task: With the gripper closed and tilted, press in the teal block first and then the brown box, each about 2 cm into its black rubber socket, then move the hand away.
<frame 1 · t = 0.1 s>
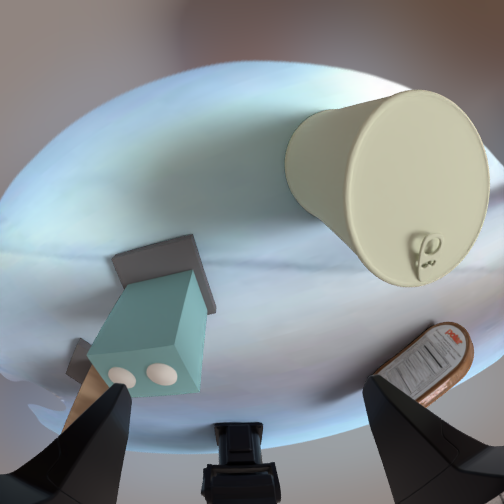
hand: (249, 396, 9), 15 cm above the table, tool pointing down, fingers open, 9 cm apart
socket one: (105, 374, 27), on the table
brown box: (91, 409, 22), point 6 cm above the table, slide at 0.0 cm
socket two: (169, 291, 23), on the table
can: (339, 165, 21), on the table
tin: (404, 350, 30), on the table
teal block: (155, 331, 18), point 6 cm above the table, slide at 0.0 cm
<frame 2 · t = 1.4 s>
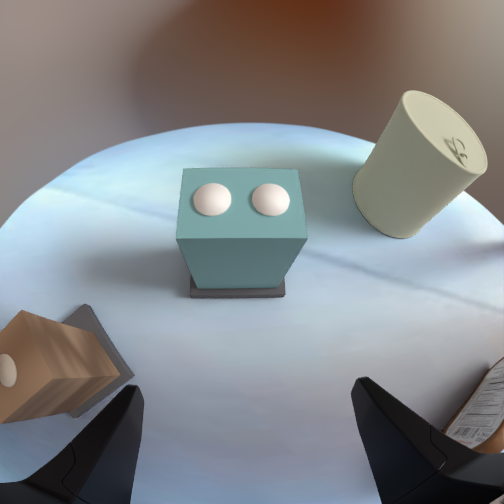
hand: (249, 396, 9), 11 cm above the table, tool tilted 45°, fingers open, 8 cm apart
socket one: (88, 372, 18), on the table
brown box: (49, 372, 13), point 6 cm above the table, slide at 0.0 cm
socket two: (237, 267, 22), on the table
can: (389, 200, 27), on the table
tin: (467, 404, 19), on the table
teal block: (238, 238, 17), point 6 cm above the table, slide at 0.0 cm
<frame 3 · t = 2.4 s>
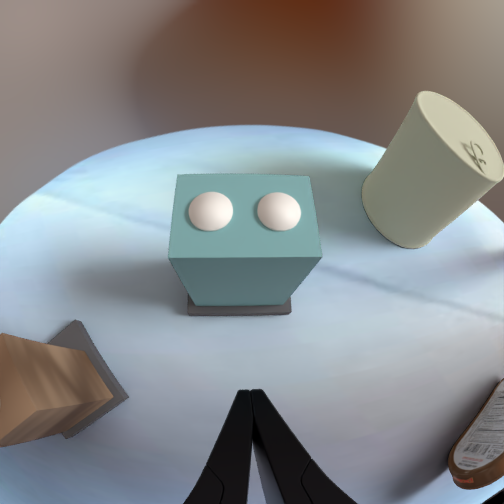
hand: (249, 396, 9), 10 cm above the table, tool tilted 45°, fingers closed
socket one: (80, 392, 16), on the table
brown box: (37, 395, 11), point 6 cm above the table, slide at 0.0 cm
socket two: (238, 282, 21), on the table
can: (399, 208, 25), on the table
tin: (477, 419, 16), on the table
teal block: (241, 253, 15), point 6 cm above the table, slide at 0.0 cm
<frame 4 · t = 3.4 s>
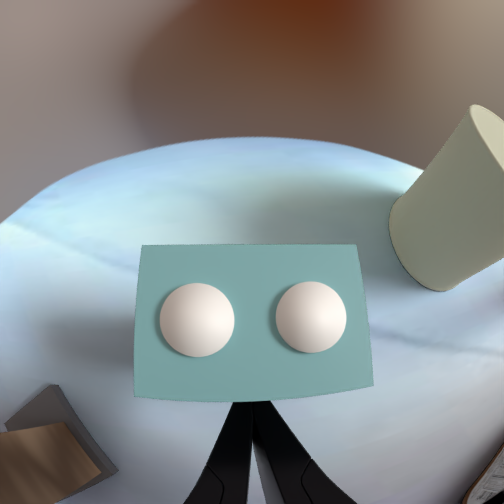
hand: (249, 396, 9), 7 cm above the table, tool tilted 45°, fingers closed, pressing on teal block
socket one: (65, 458, 11), on the table
brown box: (18, 477, 6), point 6 cm above the table, slide at 0.0 cm
can: (429, 240, 20), on the table
tin: (492, 462, 12), on the table
teal block: (246, 337, 11), point 6 cm above the table, slide at 0.1 cm, touching gripper
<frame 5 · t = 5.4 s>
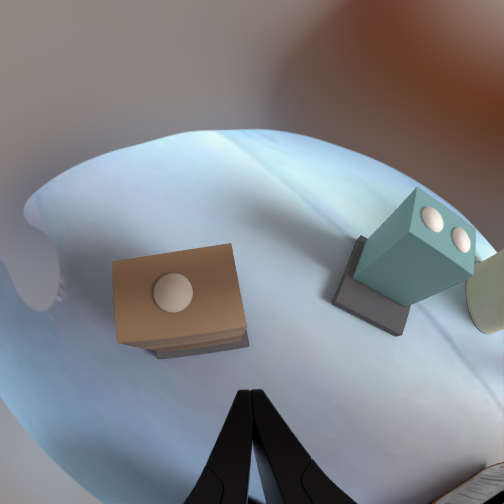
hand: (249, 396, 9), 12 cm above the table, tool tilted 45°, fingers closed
socket one: (198, 323, 21), on the table
brown box: (187, 310, 16), point 6 cm above the table, slide at 0.0 cm
socket two: (374, 296, 23), on the table
can: (485, 298, 24), on the table
tin: (458, 488, 15), on the table
teal block: (413, 255, 19), point 6 cm above the table, slide at 2.0 cm
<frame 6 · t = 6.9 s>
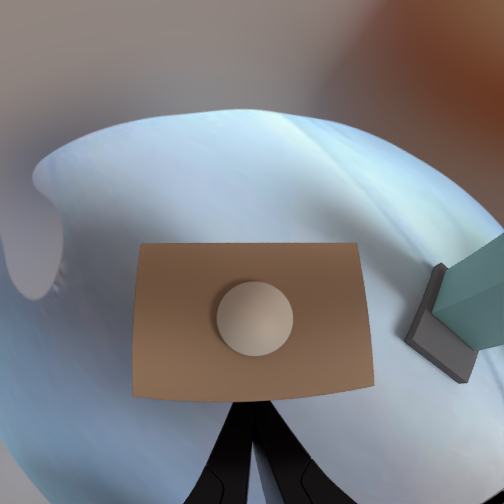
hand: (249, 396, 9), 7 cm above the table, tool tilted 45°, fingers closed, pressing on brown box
brown box: (245, 337, 11), point 6 cm above the table, slide at 0.3 cm, touching gripper
socket two: (446, 336, 17), on the table
teal block: (503, 294, 12), point 6 cm above the table, slide at 2.0 cm
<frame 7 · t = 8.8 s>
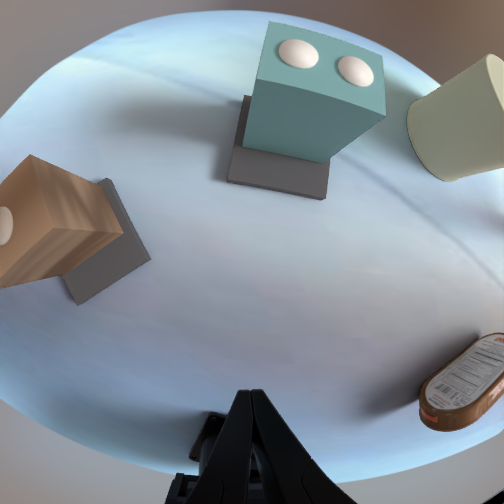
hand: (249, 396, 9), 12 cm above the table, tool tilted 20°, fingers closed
socket one: (99, 254, 19), on the table
brown box: (48, 228, 13), point 6 cm above the table, slide at 2.0 cm
socket two: (280, 159, 20), on the table
can: (438, 139, 22), on the table
tin: (452, 363, 23), on the table
teal block: (303, 102, 14), point 6 cm above the table, slide at 2.0 cm
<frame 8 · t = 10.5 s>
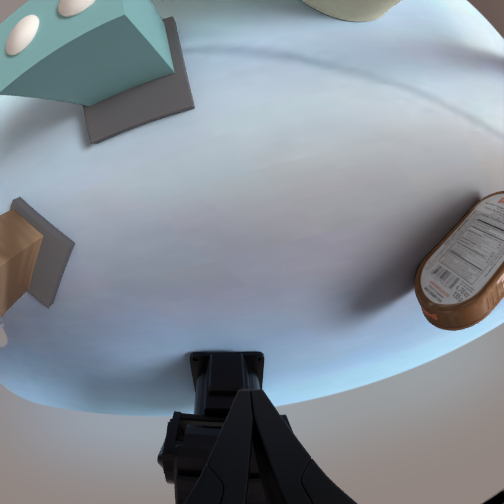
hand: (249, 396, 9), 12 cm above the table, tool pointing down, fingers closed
socket one: (42, 259, 18), on the table
socket two: (135, 91, 15), on the table
tin: (452, 235, 21), on the table
teal block: (95, 43, 9), point 6 cm above the table, slide at 2.0 cm
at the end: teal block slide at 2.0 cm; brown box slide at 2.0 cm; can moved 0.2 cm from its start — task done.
